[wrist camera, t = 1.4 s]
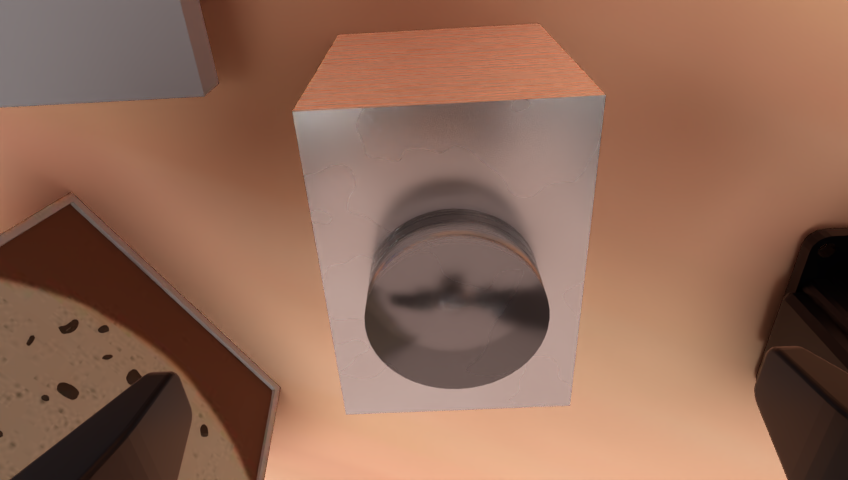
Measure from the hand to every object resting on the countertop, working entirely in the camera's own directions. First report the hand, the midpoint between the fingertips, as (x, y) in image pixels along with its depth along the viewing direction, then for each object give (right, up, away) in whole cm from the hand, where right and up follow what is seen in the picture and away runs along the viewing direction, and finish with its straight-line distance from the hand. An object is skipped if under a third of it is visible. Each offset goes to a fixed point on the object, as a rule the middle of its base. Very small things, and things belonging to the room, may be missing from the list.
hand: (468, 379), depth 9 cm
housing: (0, +4, +7) cm, 9 cm away
